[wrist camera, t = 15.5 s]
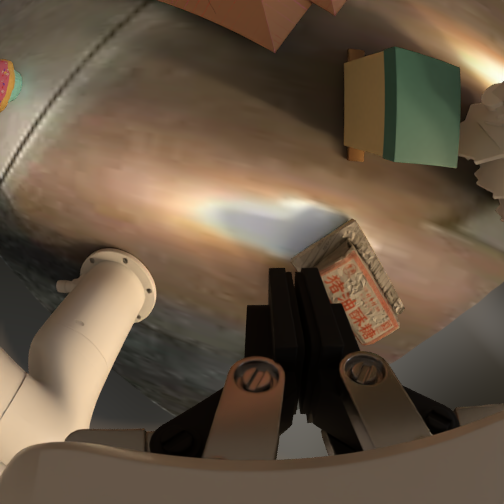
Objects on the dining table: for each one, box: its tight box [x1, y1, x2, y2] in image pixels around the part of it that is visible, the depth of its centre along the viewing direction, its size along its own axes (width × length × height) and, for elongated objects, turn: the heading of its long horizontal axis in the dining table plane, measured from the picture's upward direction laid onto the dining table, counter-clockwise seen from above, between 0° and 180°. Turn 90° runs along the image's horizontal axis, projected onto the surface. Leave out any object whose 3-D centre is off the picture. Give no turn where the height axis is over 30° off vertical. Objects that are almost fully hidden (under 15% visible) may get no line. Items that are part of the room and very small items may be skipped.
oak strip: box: [347, 48, 365, 162], centre depth 31 cm, size 2×14×1 cm, turn 1°
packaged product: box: [291, 219, 405, 345], centre depth 39 cm, size 18×5×10 cm
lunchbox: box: [344, 47, 461, 168], centre depth 26 cm, size 11×10×8 cm
